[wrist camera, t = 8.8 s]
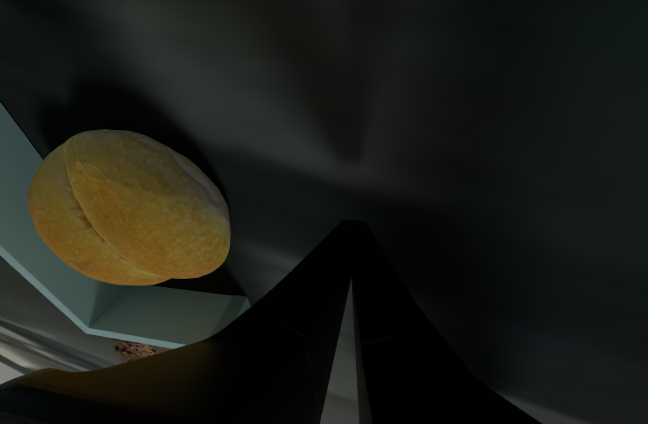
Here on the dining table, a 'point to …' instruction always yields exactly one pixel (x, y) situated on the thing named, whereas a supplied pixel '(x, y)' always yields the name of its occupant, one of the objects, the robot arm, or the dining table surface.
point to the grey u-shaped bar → (90, 294)
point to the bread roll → (128, 210)
